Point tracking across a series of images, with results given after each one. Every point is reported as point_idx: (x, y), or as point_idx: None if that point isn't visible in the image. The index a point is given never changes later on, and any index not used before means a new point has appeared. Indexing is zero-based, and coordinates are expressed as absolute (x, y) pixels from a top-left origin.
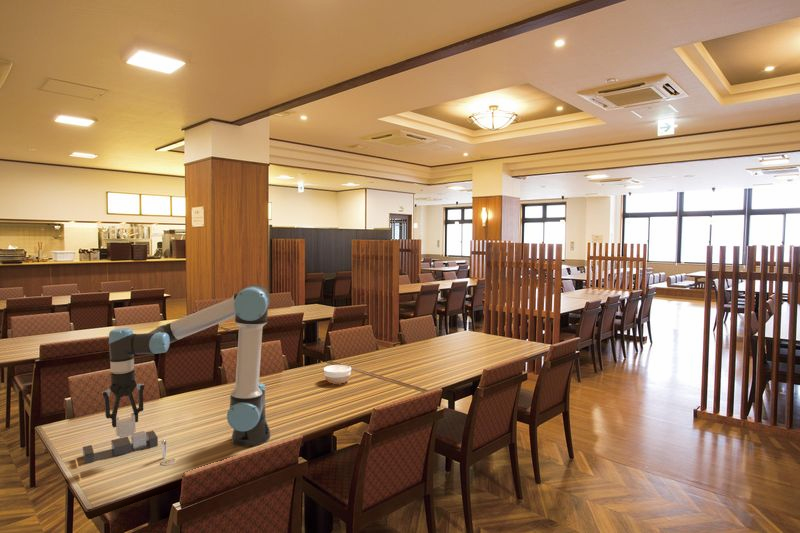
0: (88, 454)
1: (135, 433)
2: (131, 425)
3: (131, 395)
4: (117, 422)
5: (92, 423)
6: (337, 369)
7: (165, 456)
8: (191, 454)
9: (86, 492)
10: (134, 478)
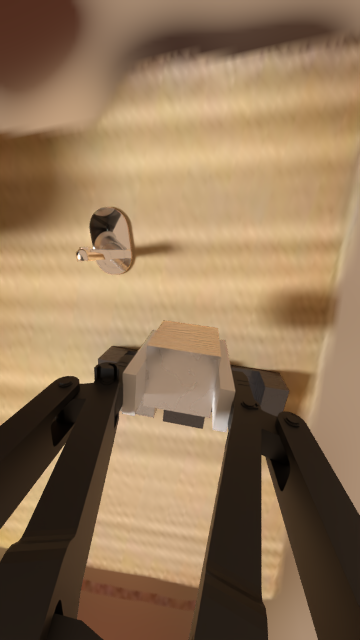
0: (279, 387)
1: (143, 409)
2: (161, 337)
3: (7, 586)
4: (225, 375)
5: (194, 553)
6: None
7: (107, 249)
8: (48, 231)
9: (345, 190)
10: (211, 184)
